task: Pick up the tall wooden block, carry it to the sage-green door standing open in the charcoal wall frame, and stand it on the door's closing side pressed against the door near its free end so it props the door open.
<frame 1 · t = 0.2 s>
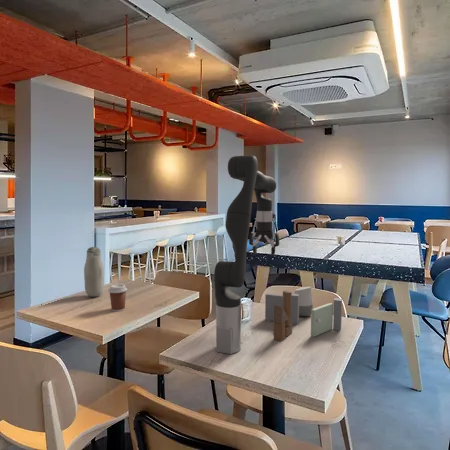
hand: (263, 254, 183), 29 cm above the table, tool pointing down, fingers open, 8 cm apart
beige bottle: (95, 296, 217), on the table
wooden block: (283, 336, 158), on the table
smart speaker: (302, 315, 185), on the table
door: (323, 319, 161), point 6 cm above the table, hinge at 65.0°
coffee cup: (118, 309, 193), on the table
wall frame: (317, 326, 169), on the table
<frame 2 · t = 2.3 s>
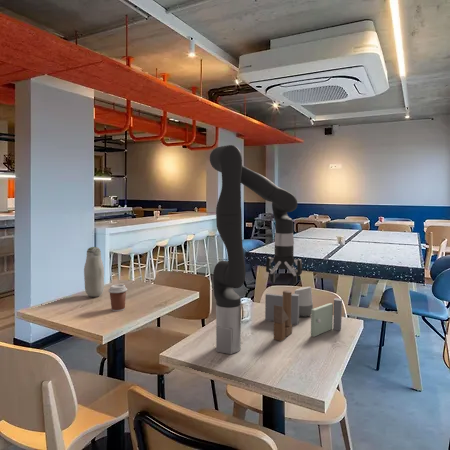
hand: (283, 283, 156), 22 cm above the table, tool pointing down, fingers open, 8 cm apart
nothing on the table moved.
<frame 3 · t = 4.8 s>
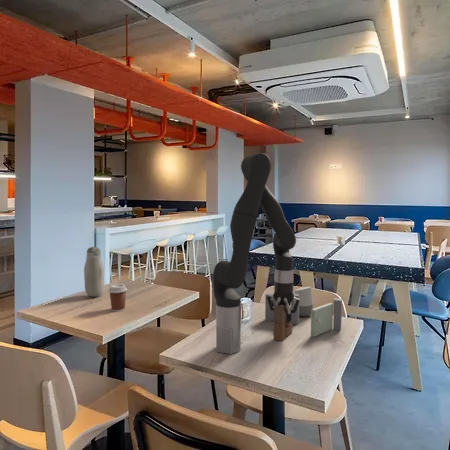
hand: (283, 321, 157), 6 cm above the table, tool pointing down, fingers closed on wooden block, 4 cm apart
wooden block: (283, 336, 158), on the table, touching gripper
everything else where it was.
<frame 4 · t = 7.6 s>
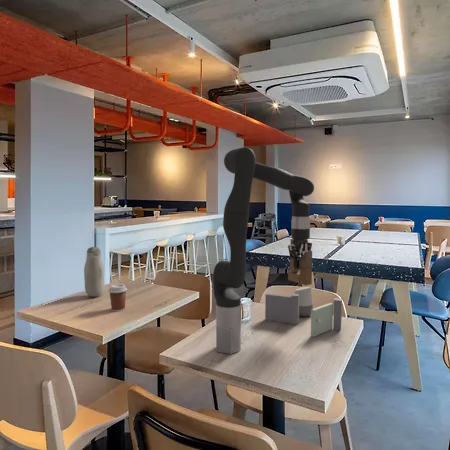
hand: (299, 267, 162), 27 cm above the table, tool pointing down, fingers closed on wooden block, 4 cm apart
wooden block: (299, 282, 163), point 21 cm above the table, touching gripper
everything else where it was.
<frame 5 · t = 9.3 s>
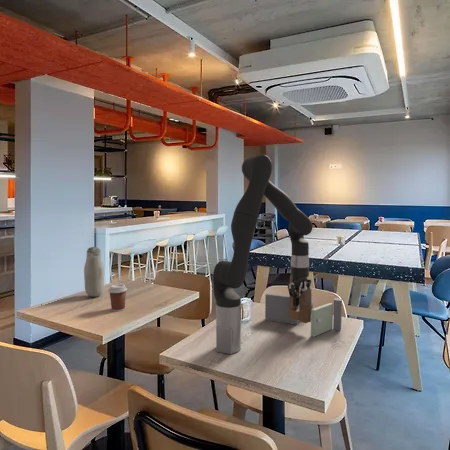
hand: (299, 304, 164), 11 cm above the table, tool pointing down, fingers closed on wooden block, 4 cm apart
wooden block: (299, 319, 164), point 5 cm above the table, touching gripper
everything else where it was.
when the fingers open (7 cm above the table, at t = 10.7 s): wooden block stays where it is, on the table.
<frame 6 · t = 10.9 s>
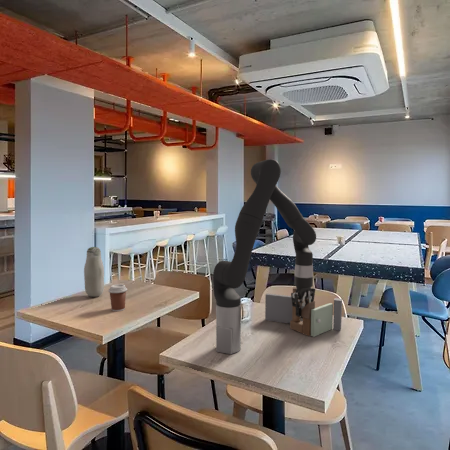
hand: (303, 314, 162), 7 cm above the table, tool pointing down, fingers open, 5 cm apart
wooden block: (301, 332, 163), on the table
everything else where it was.
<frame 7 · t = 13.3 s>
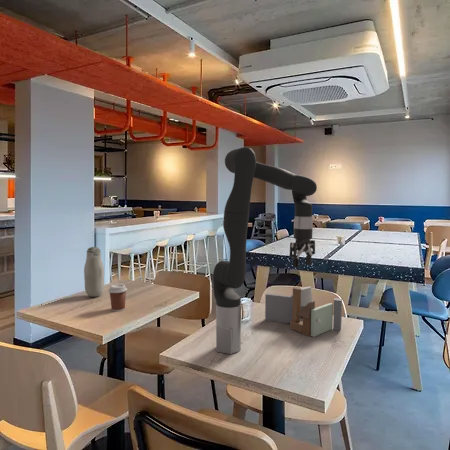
hand: (302, 266, 160), 28 cm above the table, tool pointing down, fingers open, 8 cm apart
nothing on the table moved.
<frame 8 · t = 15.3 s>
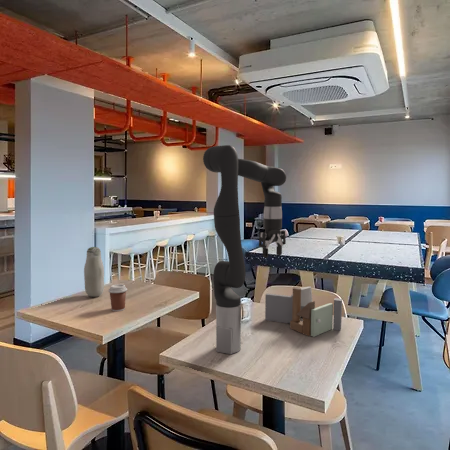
hand: (272, 256, 161), 32 cm above the table, tool pointing down, fingers open, 8 cm apart
nothing on the table moved.
at the end: wooden block 0.3 cm from the target spot, on the table; wooden block tilted 0°; door at +65° (first picture: +65°) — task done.
